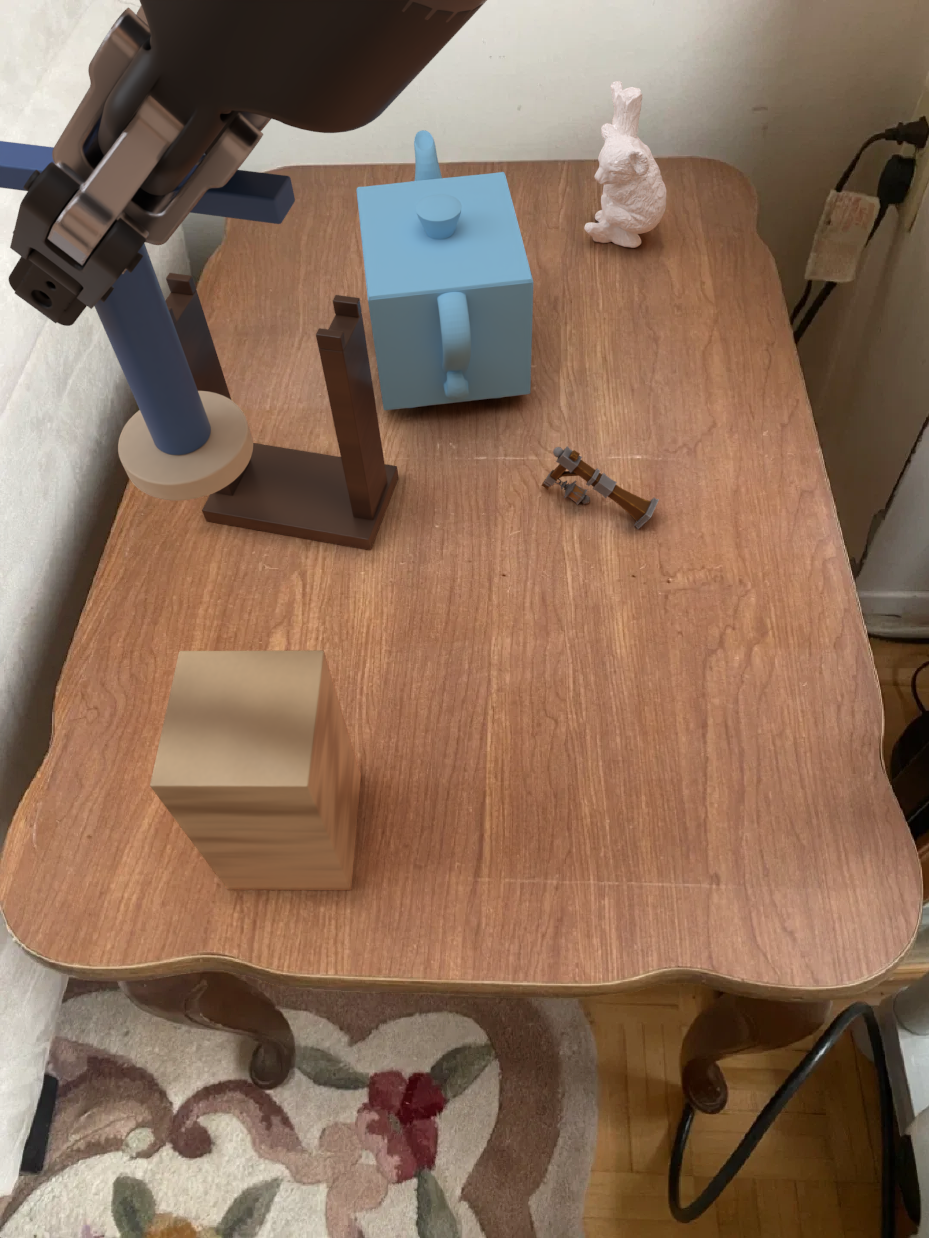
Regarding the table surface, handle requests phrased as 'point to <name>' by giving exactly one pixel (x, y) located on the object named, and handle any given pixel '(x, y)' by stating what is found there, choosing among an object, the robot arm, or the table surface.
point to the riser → (261, 768)
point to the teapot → (446, 286)
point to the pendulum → (170, 351)
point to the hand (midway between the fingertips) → (62, 273)
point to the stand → (293, 479)
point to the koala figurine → (626, 177)
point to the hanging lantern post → (596, 485)
